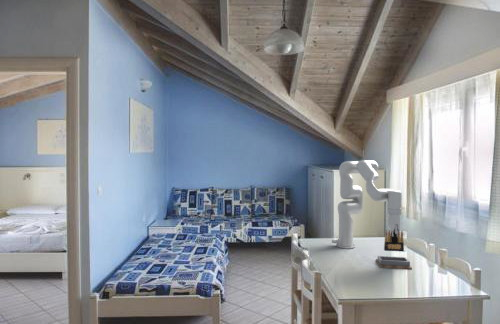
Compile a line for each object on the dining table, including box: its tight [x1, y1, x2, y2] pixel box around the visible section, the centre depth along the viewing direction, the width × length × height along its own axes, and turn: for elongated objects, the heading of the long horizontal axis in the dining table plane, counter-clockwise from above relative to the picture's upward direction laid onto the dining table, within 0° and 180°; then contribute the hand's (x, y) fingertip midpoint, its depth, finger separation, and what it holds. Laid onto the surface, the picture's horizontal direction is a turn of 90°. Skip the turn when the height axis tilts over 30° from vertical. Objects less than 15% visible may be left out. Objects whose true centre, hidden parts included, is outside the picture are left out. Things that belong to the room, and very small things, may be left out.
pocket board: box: [375, 255, 413, 270], centre depth 215 cm, size 17×14×4 cm
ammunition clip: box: [383, 229, 405, 252], centre depth 214 cm, size 11×2×12 cm, turn 82°
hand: (393, 242), depth 214 cm, fingers closed on ammunition clip, 1 cm apart
